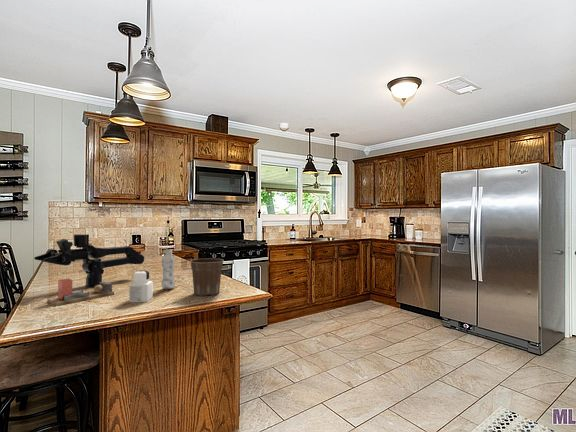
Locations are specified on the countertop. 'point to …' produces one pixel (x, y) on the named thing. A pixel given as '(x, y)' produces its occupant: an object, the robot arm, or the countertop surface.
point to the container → (141, 287)
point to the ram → (65, 288)
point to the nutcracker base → (85, 295)
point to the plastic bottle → (168, 270)
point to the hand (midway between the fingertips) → (38, 259)
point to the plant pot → (206, 276)
